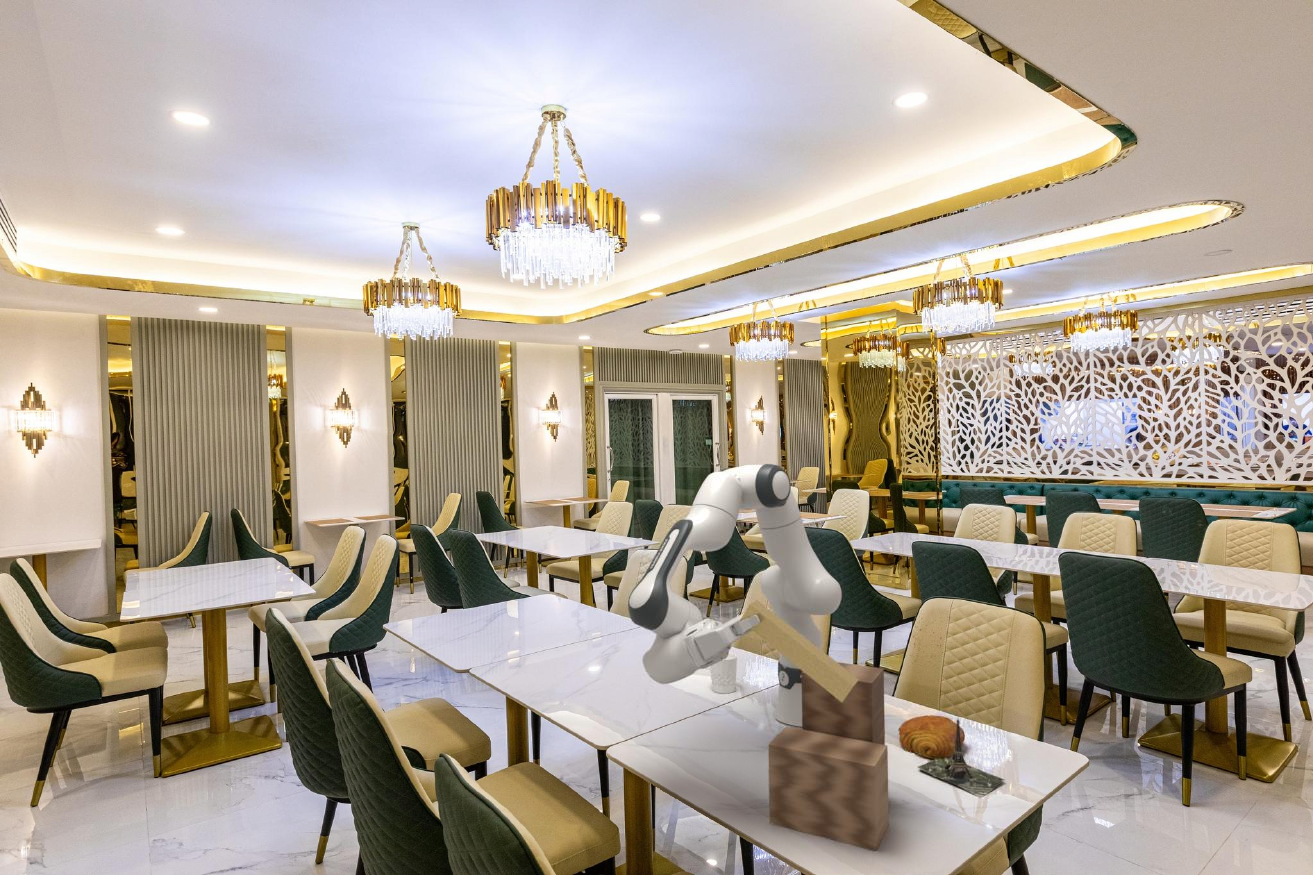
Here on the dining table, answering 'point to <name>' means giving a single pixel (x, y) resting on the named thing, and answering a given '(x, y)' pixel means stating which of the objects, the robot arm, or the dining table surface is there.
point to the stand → (834, 764)
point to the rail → (801, 652)
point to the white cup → (724, 674)
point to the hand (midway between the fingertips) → (764, 614)
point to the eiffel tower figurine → (962, 772)
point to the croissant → (930, 736)
